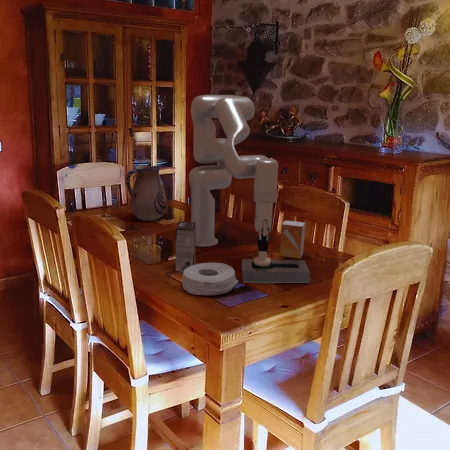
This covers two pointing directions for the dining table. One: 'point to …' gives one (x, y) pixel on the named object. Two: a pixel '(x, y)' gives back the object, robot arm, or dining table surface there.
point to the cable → (209, 279)
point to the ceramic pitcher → (146, 193)
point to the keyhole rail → (275, 272)
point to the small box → (292, 239)
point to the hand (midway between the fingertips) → (262, 249)
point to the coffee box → (185, 245)
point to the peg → (262, 257)
